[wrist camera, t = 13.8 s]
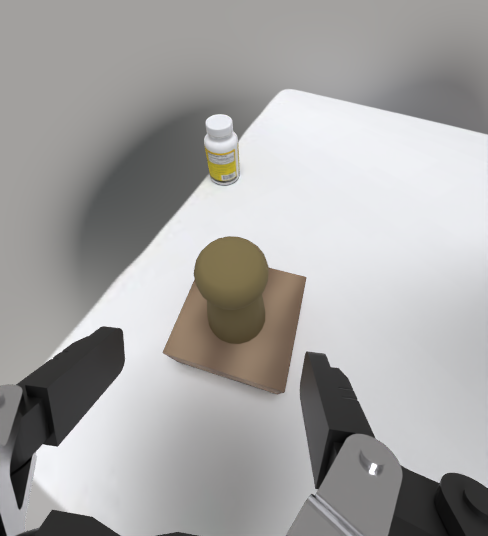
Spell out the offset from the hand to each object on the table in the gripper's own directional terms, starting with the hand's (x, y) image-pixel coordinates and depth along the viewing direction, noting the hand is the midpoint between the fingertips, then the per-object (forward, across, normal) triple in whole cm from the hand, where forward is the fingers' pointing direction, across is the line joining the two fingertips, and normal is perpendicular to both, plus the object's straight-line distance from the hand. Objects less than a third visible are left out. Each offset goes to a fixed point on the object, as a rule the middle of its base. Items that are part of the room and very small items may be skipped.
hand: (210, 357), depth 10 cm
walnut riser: (+18, 0, +9) cm, 20 cm away
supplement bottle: (+38, +6, -10) cm, 40 cm away
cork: (+14, 0, +5) cm, 15 cm away
